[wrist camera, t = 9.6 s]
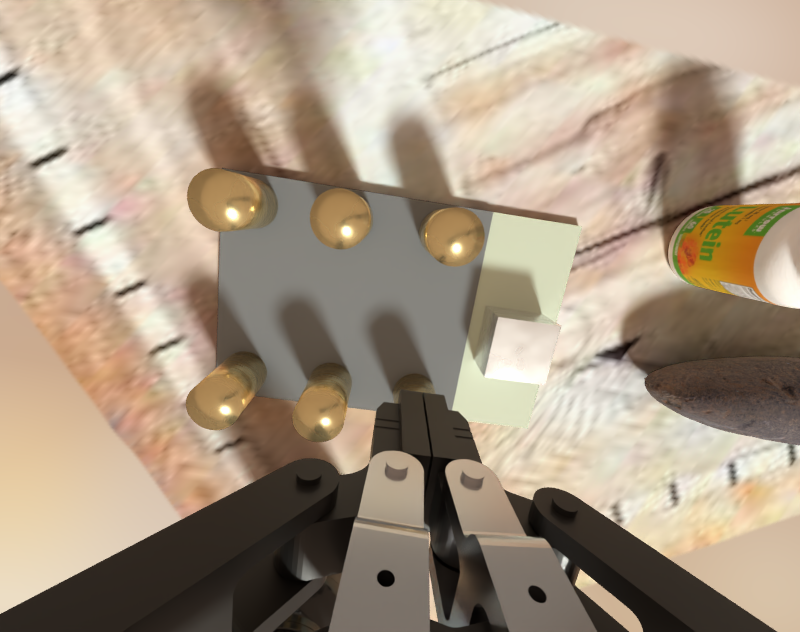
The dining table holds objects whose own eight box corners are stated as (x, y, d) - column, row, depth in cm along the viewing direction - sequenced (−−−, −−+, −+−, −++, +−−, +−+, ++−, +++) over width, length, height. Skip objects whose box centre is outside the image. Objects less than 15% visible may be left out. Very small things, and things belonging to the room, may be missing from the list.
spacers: (469, 213, 24) (490, 212, 19) (430, 413, 27) (439, 455, 23) (230, 174, 23) (187, 163, 18) (222, 388, 26) (185, 426, 22)
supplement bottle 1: (367, 537, 31) (355, 730, 19) (287, 552, 31) (228, 753, 19) (348, 468, 29) (321, 635, 18) (263, 484, 29) (181, 661, 18)
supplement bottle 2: (696, 191, 24) (888, 176, 15) (759, 226, 25) (980, 233, 16) (649, 266, 26) (800, 295, 16) (711, 297, 26) (890, 343, 17)
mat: (578, 226, 25) (582, 226, 24) (525, 424, 29) (528, 429, 28) (226, 169, 23) (222, 168, 23) (219, 387, 27) (215, 391, 26)
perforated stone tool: (616, 400, 28) (687, 457, 22) (634, 334, 27) (715, 373, 20) (801, 412, 29) (924, 471, 22) (826, 349, 28) (966, 392, 21)
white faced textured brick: (541, 313, 26) (561, 326, 23) (527, 366, 27) (544, 385, 24) (485, 305, 25) (498, 316, 23) (473, 359, 26) (484, 377, 24)
